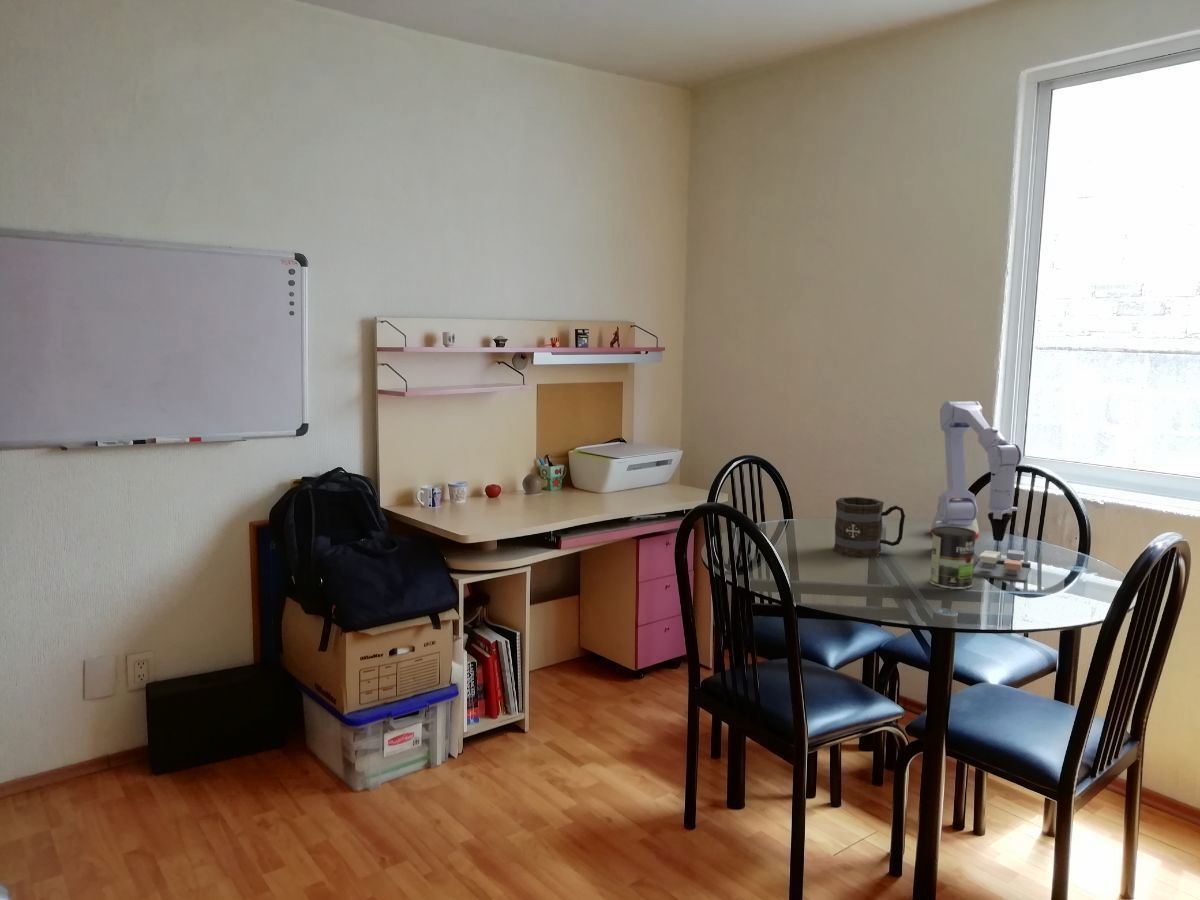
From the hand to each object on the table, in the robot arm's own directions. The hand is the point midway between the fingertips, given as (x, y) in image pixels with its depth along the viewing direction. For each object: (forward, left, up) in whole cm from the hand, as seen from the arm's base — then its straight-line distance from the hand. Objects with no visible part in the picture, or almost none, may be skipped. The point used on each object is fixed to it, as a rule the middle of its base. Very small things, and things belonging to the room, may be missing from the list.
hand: (998, 540), depth 240 cm
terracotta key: (+4, 0, -8) cm, 9 cm away
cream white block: (-2, +7, -8) cm, 11 cm away
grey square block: (+4, +7, -7) cm, 11 cm away
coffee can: (-9, -15, -10) cm, 20 cm away
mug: (-35, +6, -10) cm, 37 cm away
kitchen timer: (-16, +40, -10) cm, 44 cm away
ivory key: (-2, 0, -7) cm, 8 cm away
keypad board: (+1, +3, -9) cm, 10 cm away
